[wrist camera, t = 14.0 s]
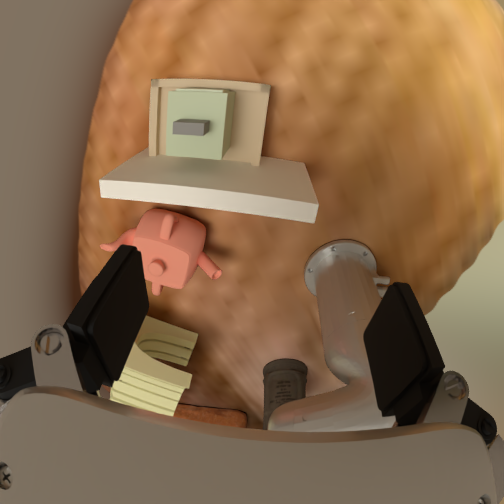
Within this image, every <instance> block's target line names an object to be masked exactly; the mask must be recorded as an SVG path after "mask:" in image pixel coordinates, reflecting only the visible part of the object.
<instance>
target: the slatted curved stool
mask: <svg viewBox="0 0 504 504" xmlns="http://www.w3.org/2000/svg"><path fill="white" fill-rule="evenodd" d="M197 337H198V334H197V333H194V332H191V331H188V330H185V329H182V328H179V327H177V326H174V325H171V324H168V323H165V322H163V321H160V320H157V319H154V318H152V317H149V316H146V317H145V319H144V321H143V323H142V326H141V328H140V330H139V333H138V335H137V337H136V340H135V342H134V344H133V347H132V349H131V352H130V354H129V356H128V359H127V361H126V364H125V366H124V369H123V371H122V374H121V376H120V379H119V380H118V381H114V384H113V386H112V387H111V391H110V400H112V401H115V402H118V403H122V404H125V405H129V406H132V407H136V408H140V409H144V410H148V411H152V412H156V413H160V414H164V415H168V416H173V415H174V412H175V409H176V406H177V404H178V401H179V399H180V397H181V394H182V393H183V391H184V389H185V388H188V389H189V386H190V382H191V378H192V374H190V373H187V372H184V371H181V370H178V369H175V368H173V367H170V366H168V365H166V364H163V363H161V362H159V361H157V360H155V359H153V358H151V357H154V358H159V359H163V360H166V361H170V362H173V363H177V364H180V365H183V366H187V363H188V361H189V358H190V356H191V353H192V351H193V349H194V346H195V344H196V340H197Z"/></svg>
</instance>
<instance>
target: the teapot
mask: <svg viewBox="0 0 504 504" xmlns="http://www.w3.org/2000/svg"><path fill="white" fill-rule="evenodd" d="M205 238H206V228H205V226H204V225H203V224H202V223H200V222H199V221H198V220H196V219H192V218H190V217H187V216H185V215H182V214H179V213H176V212H172V211H168V210H166V209H151V210H148V211H147V212H145V214H144V215H143V216H142V218H141V220H140V222H139V224H138V226H137V228H131V229H129V230H127V231H126V232H125V233H124V234H123V235H122V236H121V237H119V238H118V239H117V240H116V241H114V242H112V243H109V244H101V245H100V248H102V249H103V250H106V251H116V250H117V249H118V247H119V246H120V245H122V244H124V245H131V246H136V247H137V250H138V251H141V254H142V262H143V269H144V276H145V279H147V280H149V281H152V293H153V294H154V295H160V293H161V291H162V289H163V286H167V287H172V288H177V289H182V288H183V287H184V286H185V285H186V284H187V283H188V281H189V280H190V279H191V277H192V276H193V274H194V272H195V270H196V268H197V266H198V265H199V266H200V267H201V268H202V269H203V270H204V271H205V272H206V273H207V275H208V276H209V277H210V278H211V279H212V280H216V279H218V278H219V277H220V276H221V274H222V270H221V269H220V268H219V267H218V266H217V265H216V264H215V263H214V262H213V261H212V260H211V259H210V258H209V257H208V256H207V255H206V254H205V253H204V252H203V248H204V243H205Z"/></svg>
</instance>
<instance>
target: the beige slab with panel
mask: <svg viewBox="0 0 504 504" xmlns="http://www.w3.org/2000/svg"><path fill="white" fill-rule="evenodd" d="M189 87H190V88H216V89H230V91H232V92H235V101H234V110H233V120H232V129H231V139H230V148H229V149H228V151H227V152H226V154H225V155H224V157H223V158H222V160H215V159H204V158H192V157H179V156H166V127H167V105H168V91H174V90H176V89H178V88H189ZM270 87H271V85H266V84H258V83H249V82H239V81H227V80H210V79H151V94H150V115H149V147H148V148H146V149H145V150H143V151H141V152H140V153H138V154H137V155H135V156H133V157H132V158H130V159H129V160H127V161H126V162H124V163H123V164H121V165H120V166H118V167H117V168H115V169H114V170H112V171H111V172H110V173H108V174H107V175H105V176H104V177H102V178H101V179H100V180H99V183H100V192H101V197H103V198H114V199H126V200H136V201H146V202H156V203H166V204H175V205H184V206H192V207H201V208H209V209H217V210H225V211H232V212H240V213H247V214H255V215H262V216H269V217H275V218H282V219H289V220H295V221H302V222H308V223H314V222H315V219H316V215H317V211H318V207H319V203H318V200H317V197H316V194H315V192H314V189H313V186H312V183H311V180H310V177H309V175H308V172H307V169H306V166H305V164H304V163H302V162H296V161H290V160H284V159H278V158H271V157H264V156H261V151H262V144H263V137H264V129H265V122H266V115H267V108H268V101H269V94H270Z"/></svg>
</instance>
